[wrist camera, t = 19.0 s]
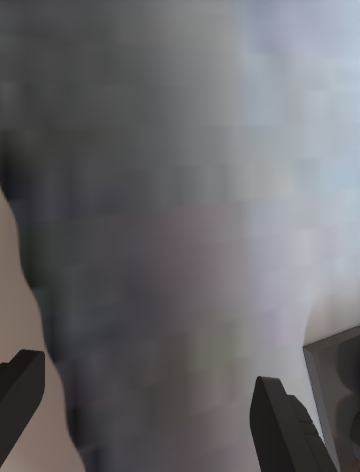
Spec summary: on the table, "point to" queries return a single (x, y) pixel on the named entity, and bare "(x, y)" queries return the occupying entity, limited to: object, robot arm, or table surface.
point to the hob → (338, 395)
